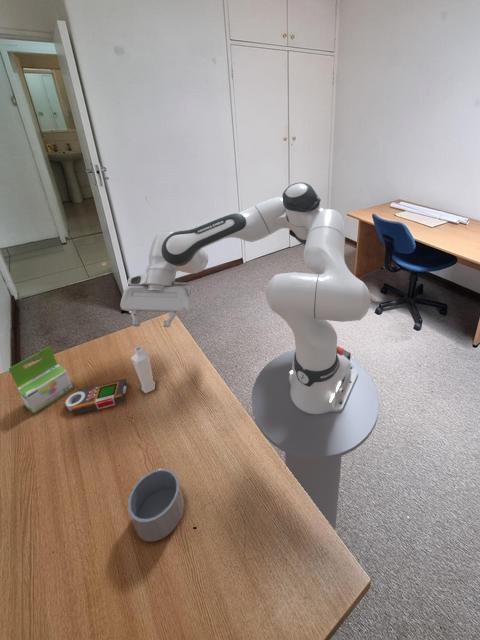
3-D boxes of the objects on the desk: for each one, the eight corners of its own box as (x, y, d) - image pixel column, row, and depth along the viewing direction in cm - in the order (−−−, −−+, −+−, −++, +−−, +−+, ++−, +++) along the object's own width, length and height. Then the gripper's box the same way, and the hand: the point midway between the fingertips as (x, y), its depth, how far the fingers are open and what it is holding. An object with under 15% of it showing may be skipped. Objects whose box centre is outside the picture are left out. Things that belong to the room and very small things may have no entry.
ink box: (33, 415, 88) (14, 377, 82) (25, 406, 91) (6, 368, 85) (74, 388, 96) (59, 352, 90) (65, 380, 99) (50, 344, 93)
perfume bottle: (140, 383, 98) (130, 344, 91) (156, 379, 99) (147, 341, 93) (139, 395, 94) (127, 356, 87) (155, 391, 95) (145, 352, 89)
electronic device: (69, 391, 92) (126, 377, 96) (72, 398, 93) (129, 384, 97) (60, 411, 86) (122, 396, 90) (64, 419, 88) (125, 403, 91)
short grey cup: (168, 478, 74) (162, 459, 71) (193, 508, 68) (188, 489, 65) (126, 517, 67) (118, 498, 64) (150, 554, 62) (143, 534, 59)
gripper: (195, 284, 105) (189, 328, 100) (133, 283, 106) (124, 326, 101) (188, 279, 99) (181, 326, 94) (122, 278, 100) (112, 324, 95)
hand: (151, 326), depth 98 cm, fingers open, 8 cm apart
